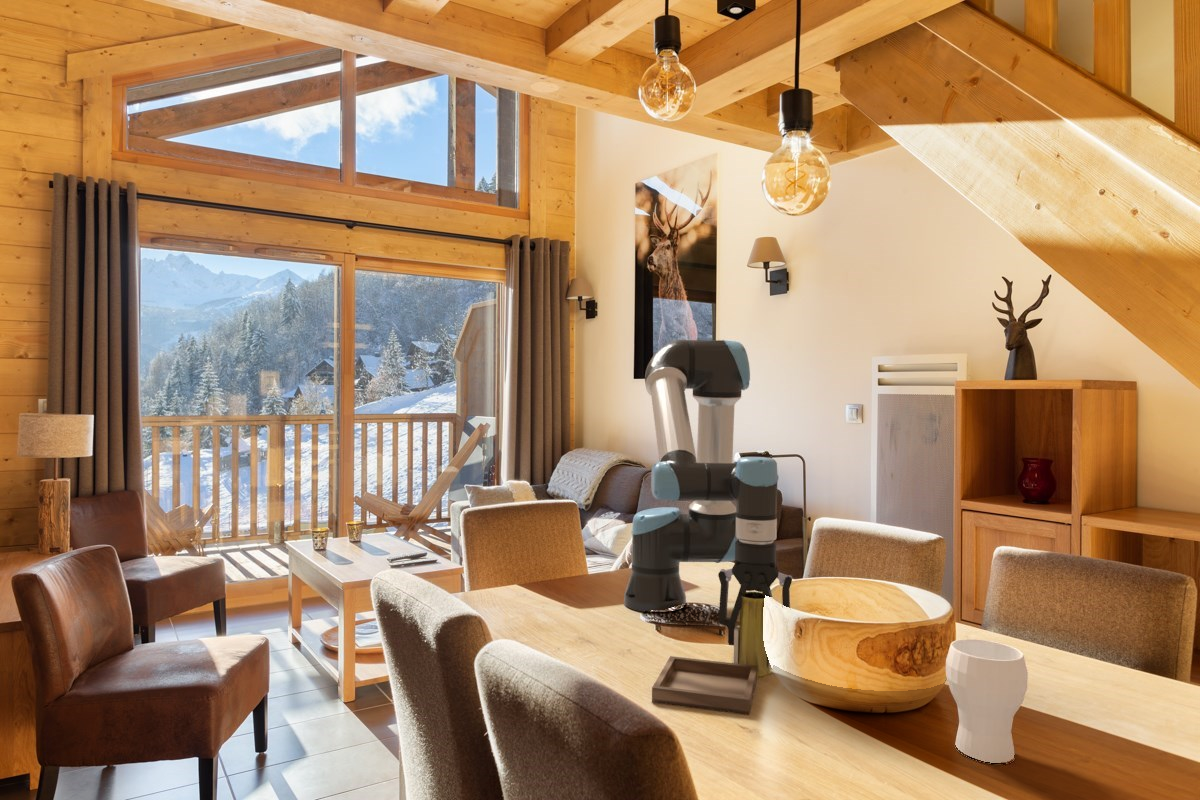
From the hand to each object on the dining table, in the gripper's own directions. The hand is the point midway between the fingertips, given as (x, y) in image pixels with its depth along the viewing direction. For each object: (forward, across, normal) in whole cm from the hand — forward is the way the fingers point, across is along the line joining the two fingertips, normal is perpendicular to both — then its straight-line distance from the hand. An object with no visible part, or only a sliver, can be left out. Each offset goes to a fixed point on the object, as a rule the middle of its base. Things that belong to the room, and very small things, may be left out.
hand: (753, 664), depth 142 cm
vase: (+2, 0, 0) cm, 2 cm away
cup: (+2, +35, -22) cm, 41 cm away
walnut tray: (+1, -7, -12) cm, 14 cm away
